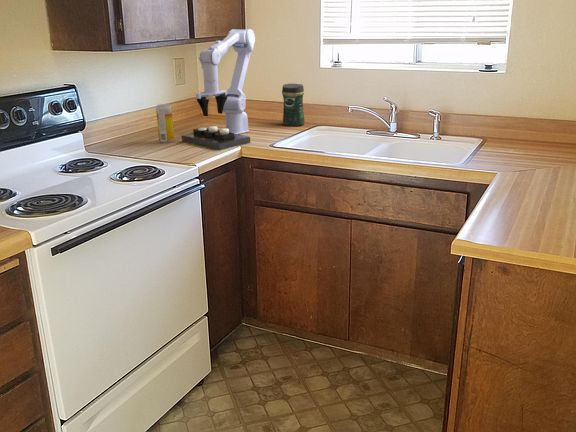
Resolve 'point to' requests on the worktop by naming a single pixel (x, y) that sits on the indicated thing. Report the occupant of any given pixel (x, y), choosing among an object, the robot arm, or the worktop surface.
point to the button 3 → (224, 131)
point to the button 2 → (213, 129)
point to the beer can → (165, 123)
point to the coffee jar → (293, 104)
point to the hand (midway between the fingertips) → (213, 114)
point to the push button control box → (215, 139)
